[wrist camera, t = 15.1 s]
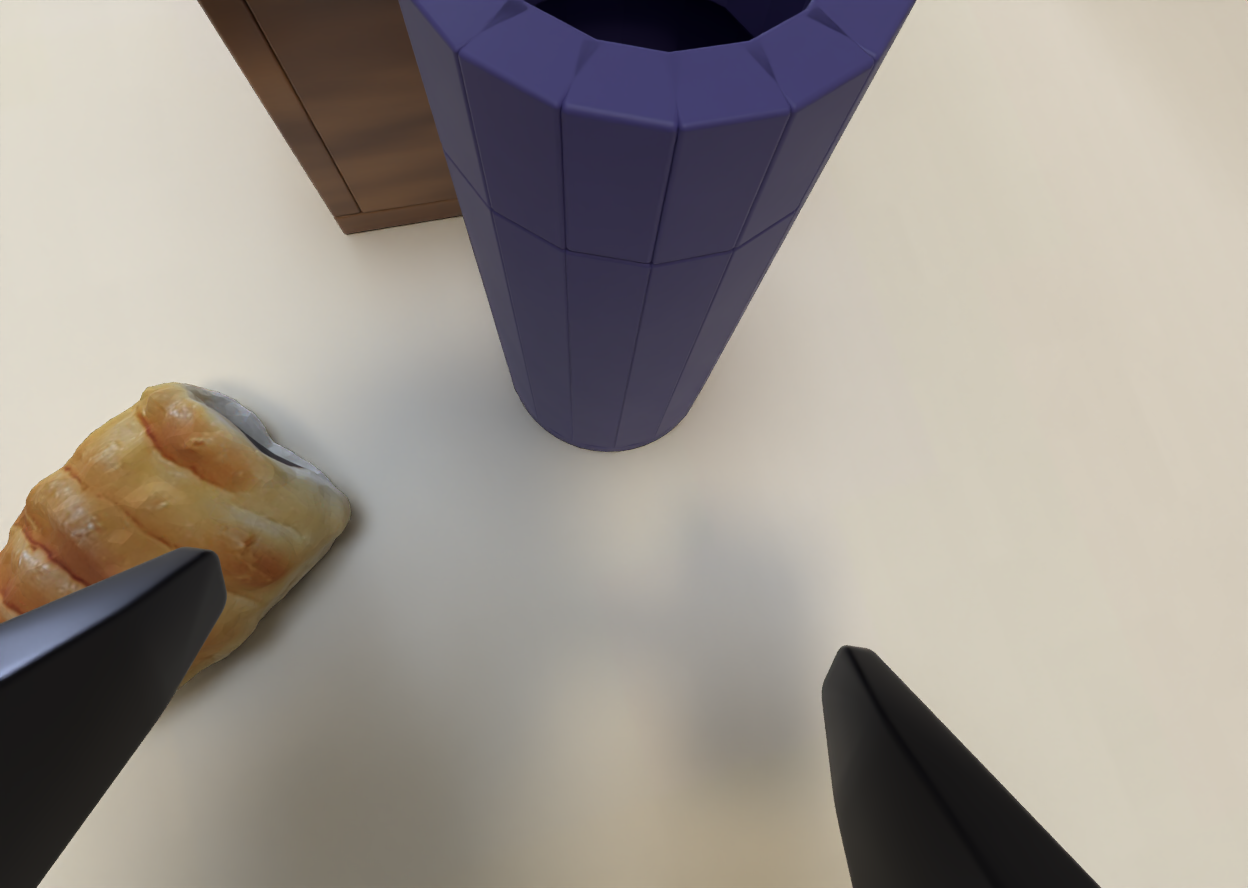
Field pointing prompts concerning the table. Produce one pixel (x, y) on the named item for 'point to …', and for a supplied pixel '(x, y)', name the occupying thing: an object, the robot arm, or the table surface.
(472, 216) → the purple hollow cylinder
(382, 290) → the table surface
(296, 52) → the bread box
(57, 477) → the pastry
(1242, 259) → the table surface
